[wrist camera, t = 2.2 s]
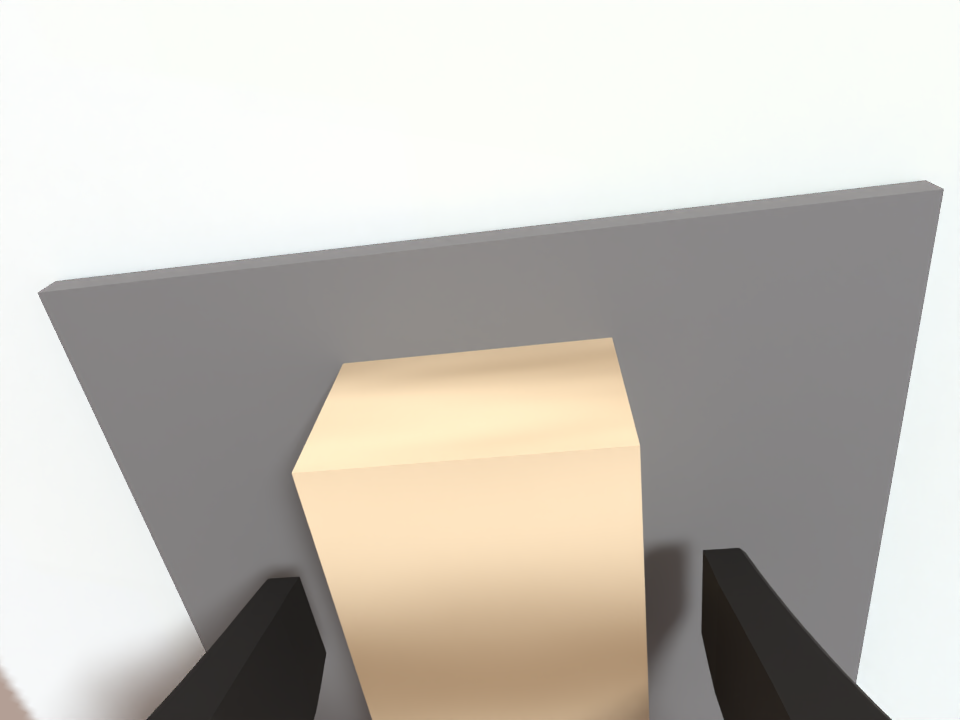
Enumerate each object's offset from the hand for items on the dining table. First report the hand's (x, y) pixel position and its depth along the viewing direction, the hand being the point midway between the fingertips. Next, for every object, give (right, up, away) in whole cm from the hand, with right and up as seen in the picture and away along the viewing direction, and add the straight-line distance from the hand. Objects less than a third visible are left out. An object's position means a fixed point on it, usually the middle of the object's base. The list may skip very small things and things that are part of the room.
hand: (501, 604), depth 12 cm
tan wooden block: (0, +1, +1) cm, 1 cm away
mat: (+1, -4, +4) cm, 6 cm away
